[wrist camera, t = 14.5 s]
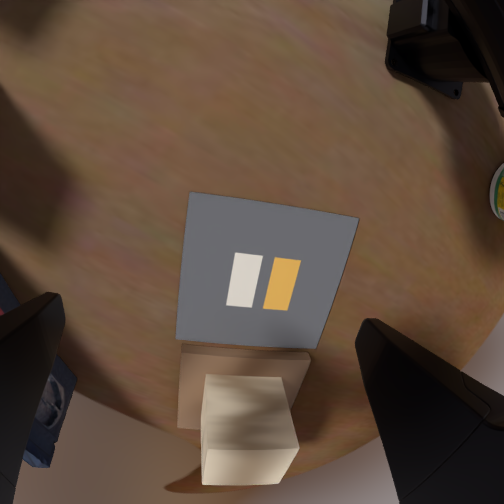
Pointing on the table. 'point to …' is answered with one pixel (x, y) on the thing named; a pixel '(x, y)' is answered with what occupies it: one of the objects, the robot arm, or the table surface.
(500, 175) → the supplement bottle
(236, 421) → the maple block
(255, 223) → the gray tile
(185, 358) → the walnut pad
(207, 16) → the table surface
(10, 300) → the vhs cassette tape
